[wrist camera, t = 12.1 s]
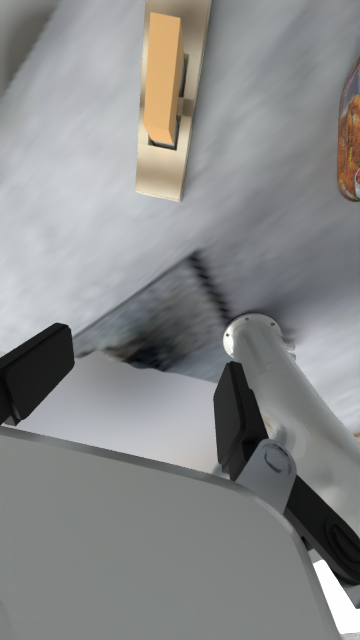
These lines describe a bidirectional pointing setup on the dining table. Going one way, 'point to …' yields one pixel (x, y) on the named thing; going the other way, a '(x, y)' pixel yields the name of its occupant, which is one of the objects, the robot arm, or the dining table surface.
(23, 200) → the dining table surface
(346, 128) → the tin
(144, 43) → the rail
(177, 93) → the light orange block
